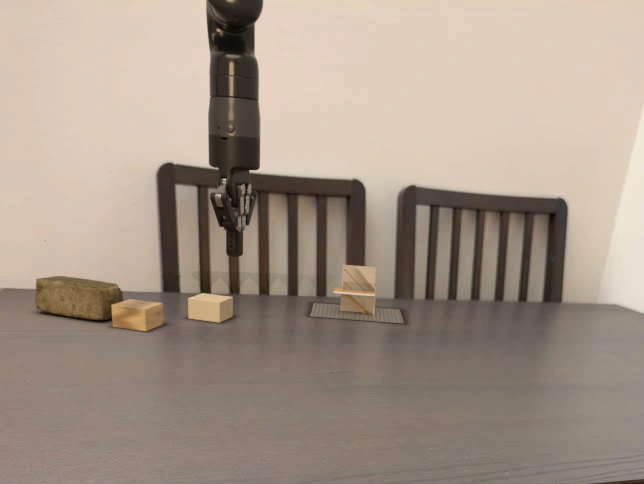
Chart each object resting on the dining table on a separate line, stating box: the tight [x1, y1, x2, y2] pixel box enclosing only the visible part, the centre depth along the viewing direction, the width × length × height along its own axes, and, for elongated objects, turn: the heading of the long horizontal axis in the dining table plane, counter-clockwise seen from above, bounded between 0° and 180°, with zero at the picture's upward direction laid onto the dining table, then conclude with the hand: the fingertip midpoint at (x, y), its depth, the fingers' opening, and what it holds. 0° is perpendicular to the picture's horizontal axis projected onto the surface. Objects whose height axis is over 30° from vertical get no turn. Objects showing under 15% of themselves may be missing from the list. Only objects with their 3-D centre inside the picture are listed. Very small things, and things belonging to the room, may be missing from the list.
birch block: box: [111, 298, 164, 332], centre depth 101 cm, size 5×5×3 cm
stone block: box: [34, 275, 124, 321], centre depth 103 cm, size 6×12×5 cm, turn 74°
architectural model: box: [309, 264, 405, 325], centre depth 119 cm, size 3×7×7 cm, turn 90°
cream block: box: [187, 292, 234, 324], centre depth 109 cm, size 5×5×3 cm
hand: (234, 255), depth 114 cm, fingers closed
